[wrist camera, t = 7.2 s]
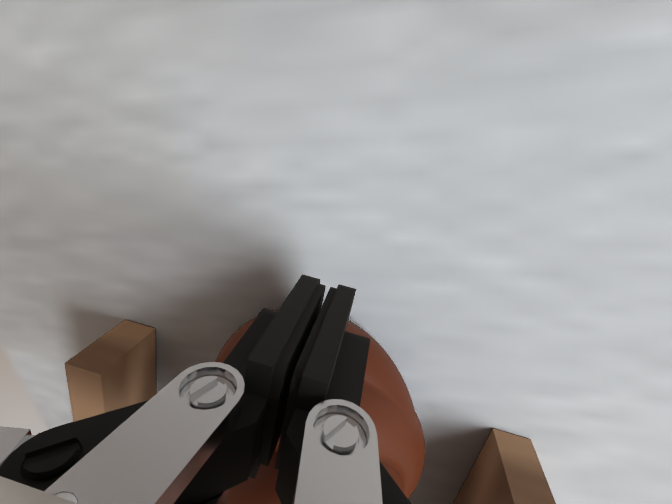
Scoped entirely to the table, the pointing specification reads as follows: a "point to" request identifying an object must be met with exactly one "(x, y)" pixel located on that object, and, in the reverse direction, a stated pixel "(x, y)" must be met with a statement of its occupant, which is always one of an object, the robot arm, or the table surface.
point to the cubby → (140, 385)
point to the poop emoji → (383, 408)
